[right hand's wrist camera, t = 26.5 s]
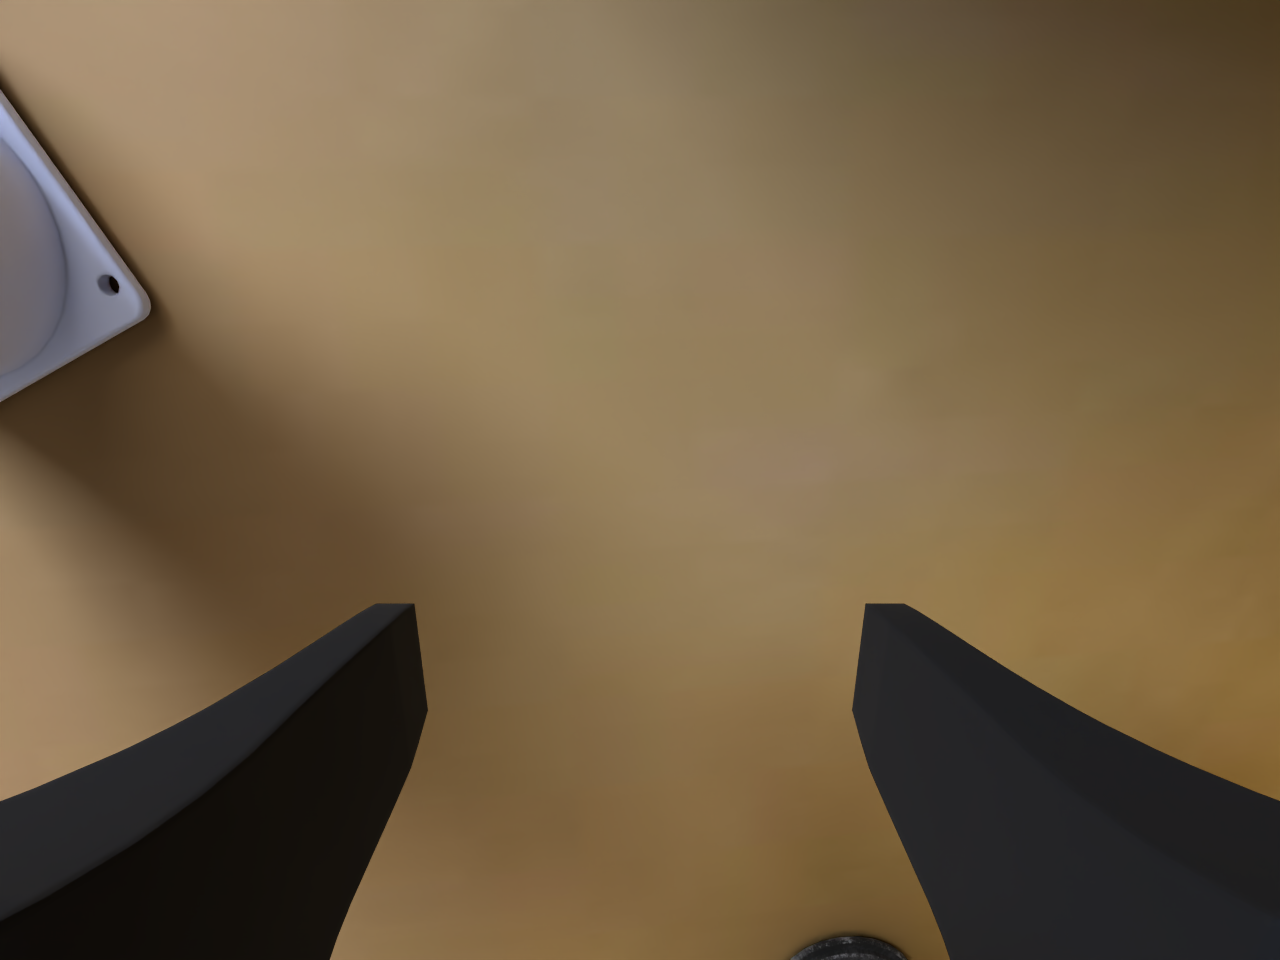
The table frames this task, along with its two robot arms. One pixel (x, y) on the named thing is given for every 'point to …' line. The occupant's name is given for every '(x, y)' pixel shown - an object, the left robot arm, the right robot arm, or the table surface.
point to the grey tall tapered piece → (850, 950)
